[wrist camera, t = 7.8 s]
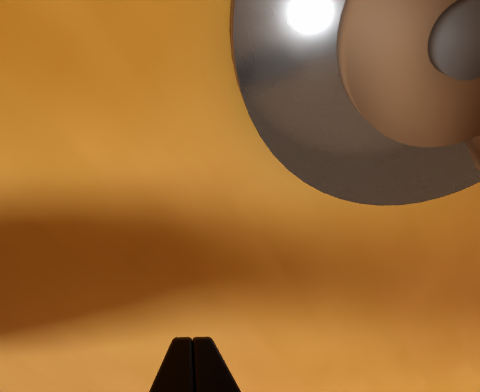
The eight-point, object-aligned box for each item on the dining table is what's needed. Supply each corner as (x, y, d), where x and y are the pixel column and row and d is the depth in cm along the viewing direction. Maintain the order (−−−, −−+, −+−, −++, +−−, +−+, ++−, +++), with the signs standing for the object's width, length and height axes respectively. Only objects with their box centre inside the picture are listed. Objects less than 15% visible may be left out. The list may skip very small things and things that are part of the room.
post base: (212, 183, 21) (220, 244, 16) (261, -314, 12) (305, -454, 8) (504, 196, 24) (575, 251, 19) (713, -198, 15) (924, -256, 11)
